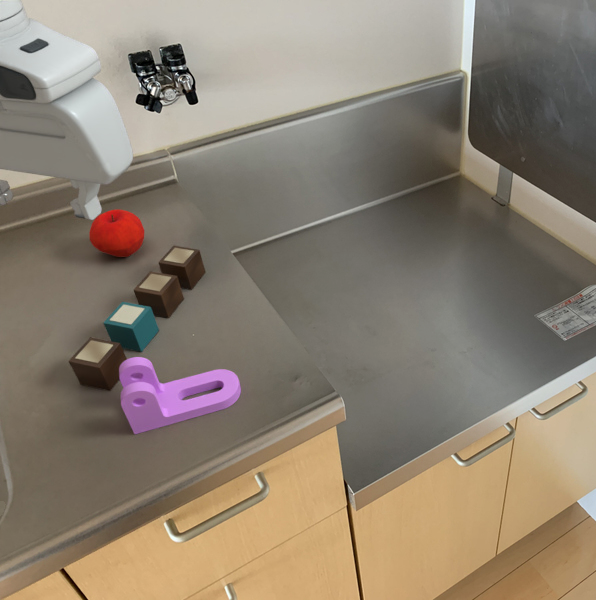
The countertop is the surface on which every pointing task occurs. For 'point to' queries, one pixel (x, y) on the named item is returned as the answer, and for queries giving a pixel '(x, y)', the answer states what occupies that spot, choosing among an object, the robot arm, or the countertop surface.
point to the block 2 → (183, 265)
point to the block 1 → (98, 363)
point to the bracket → (171, 395)
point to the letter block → (131, 326)
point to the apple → (117, 233)
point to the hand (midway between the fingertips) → (45, 208)
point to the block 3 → (159, 293)
